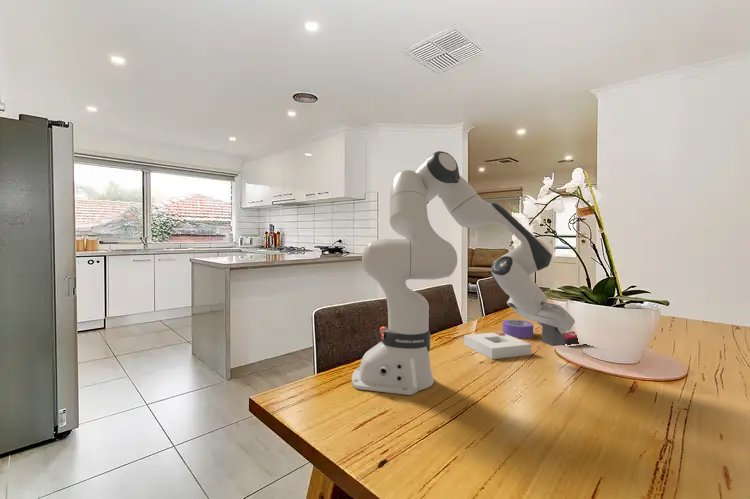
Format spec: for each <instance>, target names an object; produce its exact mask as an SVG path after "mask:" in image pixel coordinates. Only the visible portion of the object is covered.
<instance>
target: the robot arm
mask: <svg viewBox="0 0 750 499" xmlns="http://www.w3.org/2000/svg"><path fill="white" fill-rule="evenodd" d="M393 177H394V178H393V180H392V181H391V182H392V183H391V187H390V192H389V224H390V227H391V228H392V230H393V231H394V232H395V233H396V234H398V235H399V236H401V237H403V238H404V239H402V238H384V239H378V240H373V241H369V242H368V243H367V245H366V246H365V248H364V250H363V251H362V254H361V255H362V257H361V263H362V266H363V269H364V271H365V272H366V274H367V275H368V276H370V277H371V278H372V279H373V280H374V281H376V283H377V284H378V285H379V286H380V288H381V289H382V291H383V293H384V296H385V300H386V302H387V303H386V304H387V314H388V316H387V321H388V327H386V326H381V327H380V329H379V333H380V341H379V342H378V343H377V344H376V345H373V347H371V348H370V349H368V350H367V351H366V352H365V353H364V355H363V356H362V358H361V361H360V364H359V365H360V366H358V367H357V368H356V369H355V370H354V371H353V372H352V376H351V384H352V387H354V388H355V389H357V390H363V391H364V390H365V391H372V392H380V393H390V394H395V395H396V394H397V395H408V396H413V395H415V394H417V393H418V392H419V391H422V390H425V389H426V390H427V389H428V388H431V386H432V385H433V384H434V383H435V381H434V377H433V373H432V369H431V362H430V361H431V360H430V349H431V331H430V329H429V328H430V327H429V324H430V323H429V318H430V313H429V312H430V305H429V302H428V300H427V299H426V298H425V297H424V296H423V295H422V294H420V293H418V292H417V291H415V290H412V289H411V288H409V287H408V286H407V281H409V280H439V279H444V278H449V277H450V276H452V274H453V273H454V272H455V271H456V268H457V267H458V266H457V265H458V254H457V250H456V249H455V247H454V246H453V244H452V243H451V242H449V241H447V240H445V239H444V238H443V237H441V236H440V235H439V234H438V233H437V232H436V231H435V230H434V228H433V227H432V225H431V223H430V220H429V214H428V208H427V206H428V205H427V204H429V202H430V201H432V200H433V199H435V197H438V198H439V199H441V201H442V203H443V205H444V206H445V208H446V210H447V212H448V213H449V214H450V215H451V217H452V219H453V220H455V222H456V223H457V224H458V225H459V226H461V227H463V228H466V229H467V228H468V229H474V228H479V227H484V226H488V225H494V224H495V225H496V224H497V225H501V226H503V227H504V228H506V229H507V230H508V231H509V232H510V233H511V234H513V236H515V238H516V239H517V240H519V242H520V244H519V245H518V246H516V247H514V248H512V249H511V250H510V251H508V252H507V253H505V254H503V255H501V256H500V257H498V258H497V259H495V260H494V261H493V262H492V265H491V268H490V271H491V272H490V274H491V276H492V277H491V278H493V280H494V282H495V283H496V284H497V285H498V287H499V288H500V289H501V290H503V291H504V293H505V294H506V295H508V296H510V297H509V298H508V300H507V301H506V304H507V305H508V306H509V307H510V308H512V310H513V311H514V312H515V313H516V314H517V315H518V316H519V317H521V318H523V319H525V320H528V321H529V320H530V321H533V322H535V323H537V324H538V325H540V326H542V323H543V324H547V325H550V326H554V327H556V328H557V329H556V330H557V331H558V333H561V334H564V332H565V331H566V330H570V329H571V328H573V326H574V325H575V324H576V321H575V319H574V317H573V316H572V315H571V314H570V313H568V311H567V310H566V309H565V308H564V307H563V306H561V305H559V304H556V303H552V302H551V303H550V302H548V296H547V295H546V294H545V293H544V292H543V290H542V289H541V288H540V287H539V285H538V284H537V283H535V282H534V281H533V280H532V276H531V275H532V274H534V273H536V272H539V271H541V270H544V269H545V268H548V267H549V266H550V263H551V261H552V258H553V254H552V252H551V249H550V248H549V247H548V246H547V244H545V243H544V242H543V241H542V240H540V239H539V238H537V237H536V236H534V235H533V234H532V233H531V232H530V231H529V230H528V229H527V228H526V227H525V226H523V224H521V223H520V222H519V221H518V219H517V218H515V217H514V216H513V215H512V214H510V213H509V212H508V211H507V210H506V209H505V208H504V207H503V206H502V205H500V204H498V203H497V202H488V201H485V199H483V198H482V197H481V196H480V195H479V194H478V193H477V191H476V190H475V189H474V188H473V186H472V185H471V184H470V183H469V182H468V181H467V180H466V179H464V177H463V176H461V175H460V171H459V165H458V162H457V161H456V159H455V158H454V157H453V155H451V154H450V153H448V152H445V151H441V150H437V151H436V152H434V153H431V154H430V155H428V157H427V158H426V159H425V161H424V162H422V163H421V164H420V165H419V166H418V167H417V168H416V169H415V170H411V169H406V170H405V169H403V170H401V171H399V172H398V173H396V174H395V176H393ZM514 234H515V235H514ZM515 251H516V252H515Z"/></svg>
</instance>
